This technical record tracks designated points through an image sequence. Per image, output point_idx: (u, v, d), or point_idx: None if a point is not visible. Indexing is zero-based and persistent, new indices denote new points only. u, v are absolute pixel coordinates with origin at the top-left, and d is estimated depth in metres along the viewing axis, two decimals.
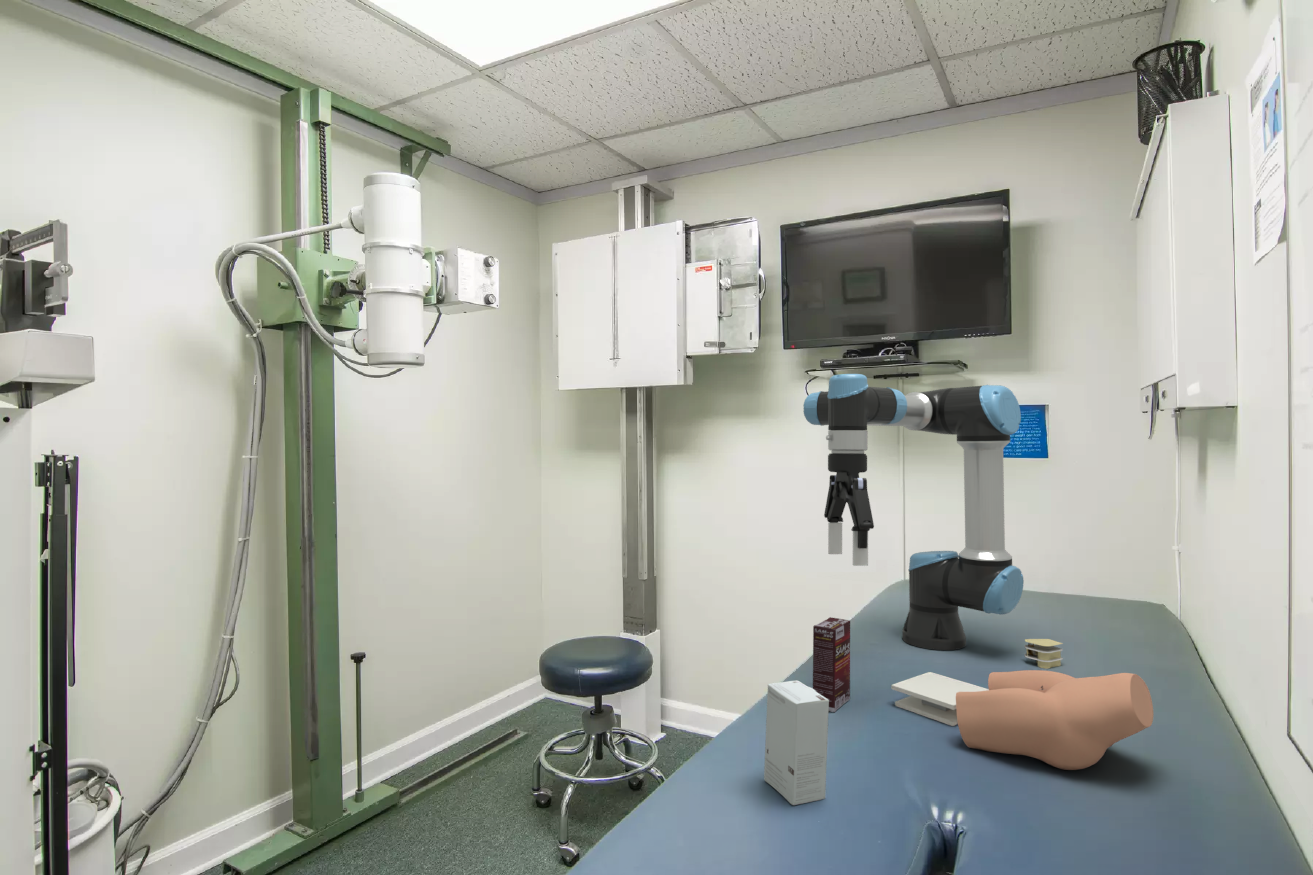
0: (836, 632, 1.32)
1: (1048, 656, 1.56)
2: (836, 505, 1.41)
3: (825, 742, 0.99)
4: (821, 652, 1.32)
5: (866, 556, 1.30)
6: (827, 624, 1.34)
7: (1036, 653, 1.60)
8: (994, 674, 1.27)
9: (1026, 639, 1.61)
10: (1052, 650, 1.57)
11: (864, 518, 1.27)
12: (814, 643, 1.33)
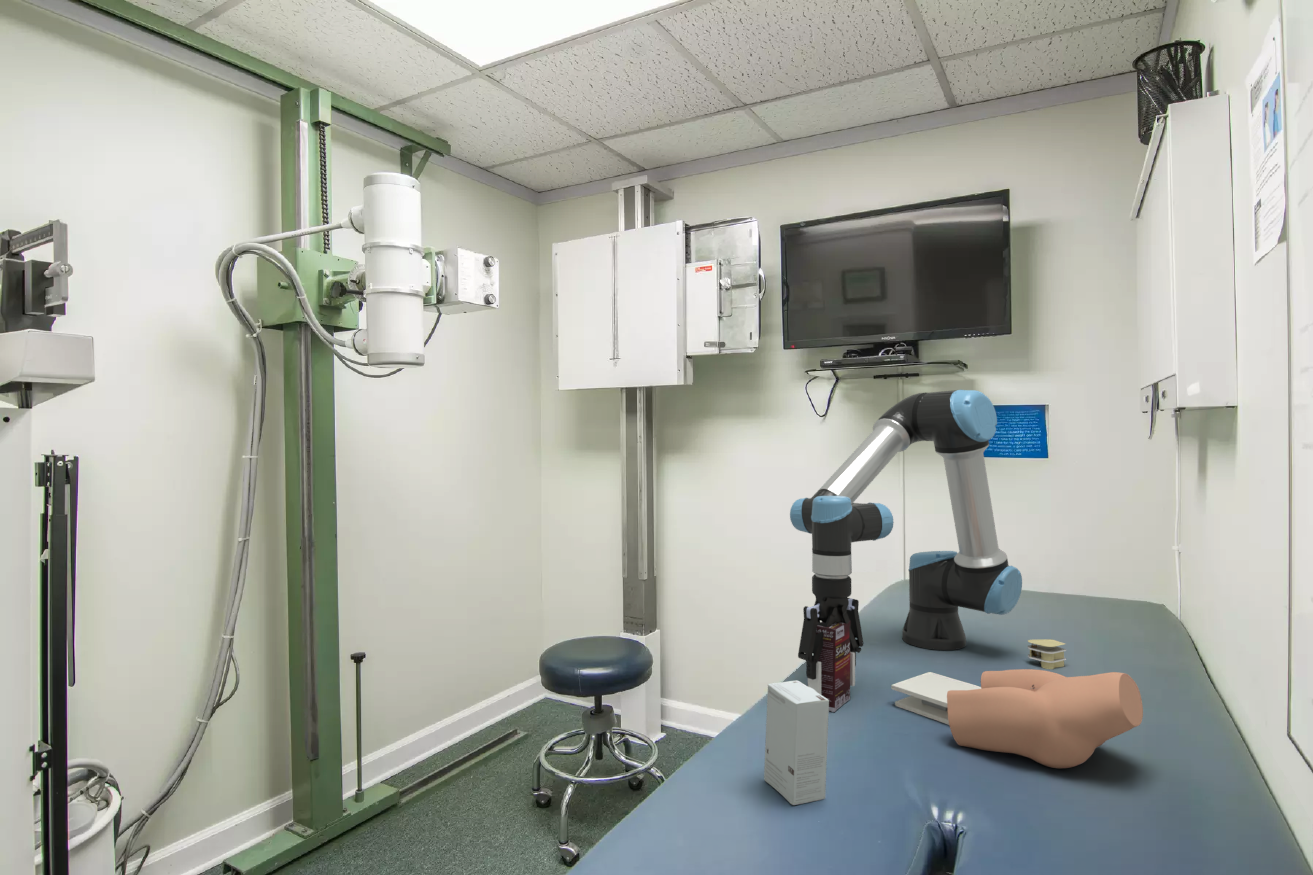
0: (837, 632, 1.32)
1: (1051, 657, 1.56)
2: None
3: (825, 742, 0.99)
4: (821, 651, 1.32)
5: (817, 687, 1.31)
6: None
7: (1039, 654, 1.60)
8: (986, 673, 1.28)
9: (1029, 640, 1.61)
10: (1055, 650, 1.57)
11: (802, 650, 1.31)
12: None
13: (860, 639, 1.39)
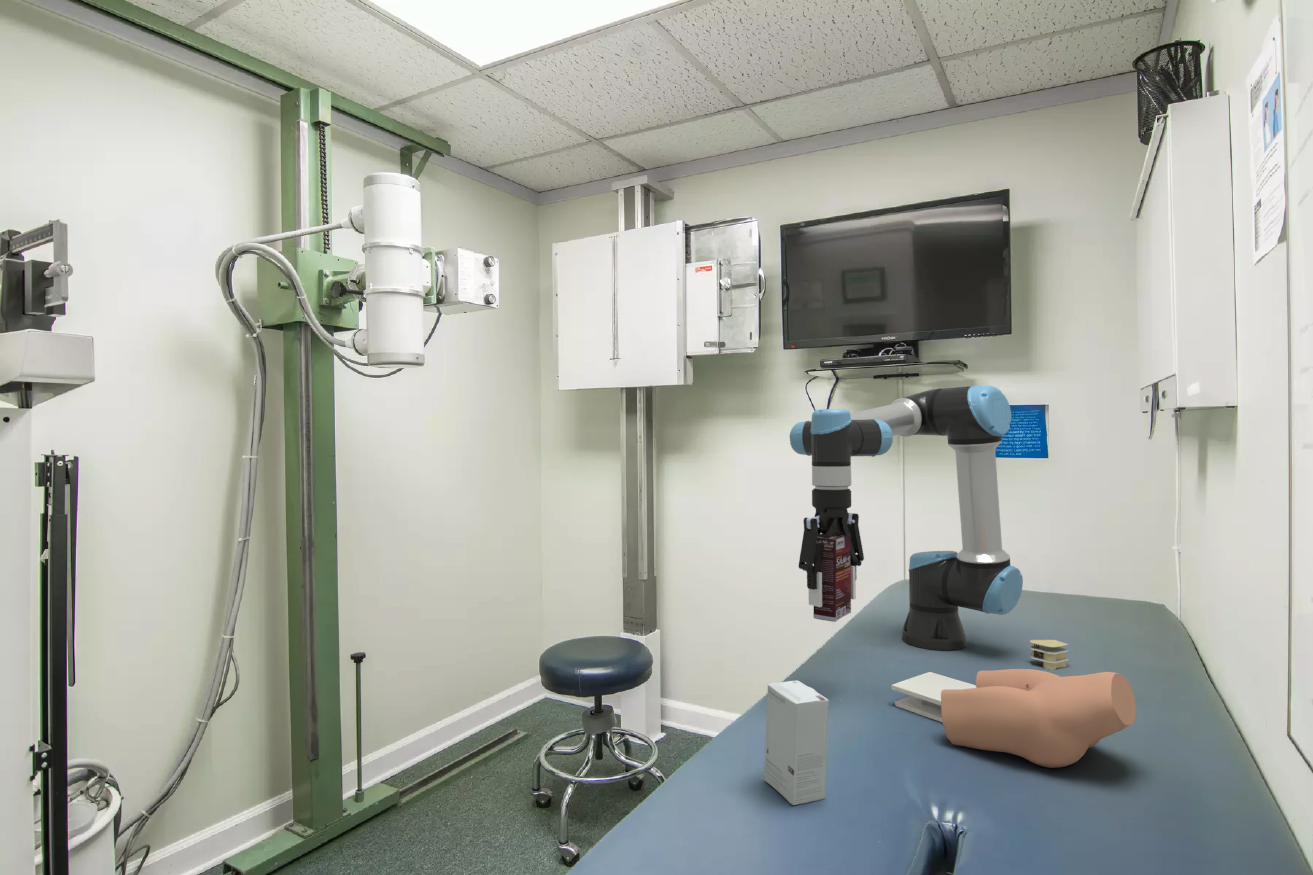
0: (837, 543, 1.32)
1: (1054, 657, 1.56)
2: None
3: (825, 742, 0.99)
4: (822, 562, 1.33)
5: (818, 597, 1.32)
6: None
7: (1041, 654, 1.60)
8: (982, 673, 1.28)
9: (1031, 640, 1.60)
10: (1058, 651, 1.56)
11: (803, 560, 1.31)
12: None
13: (861, 553, 1.39)
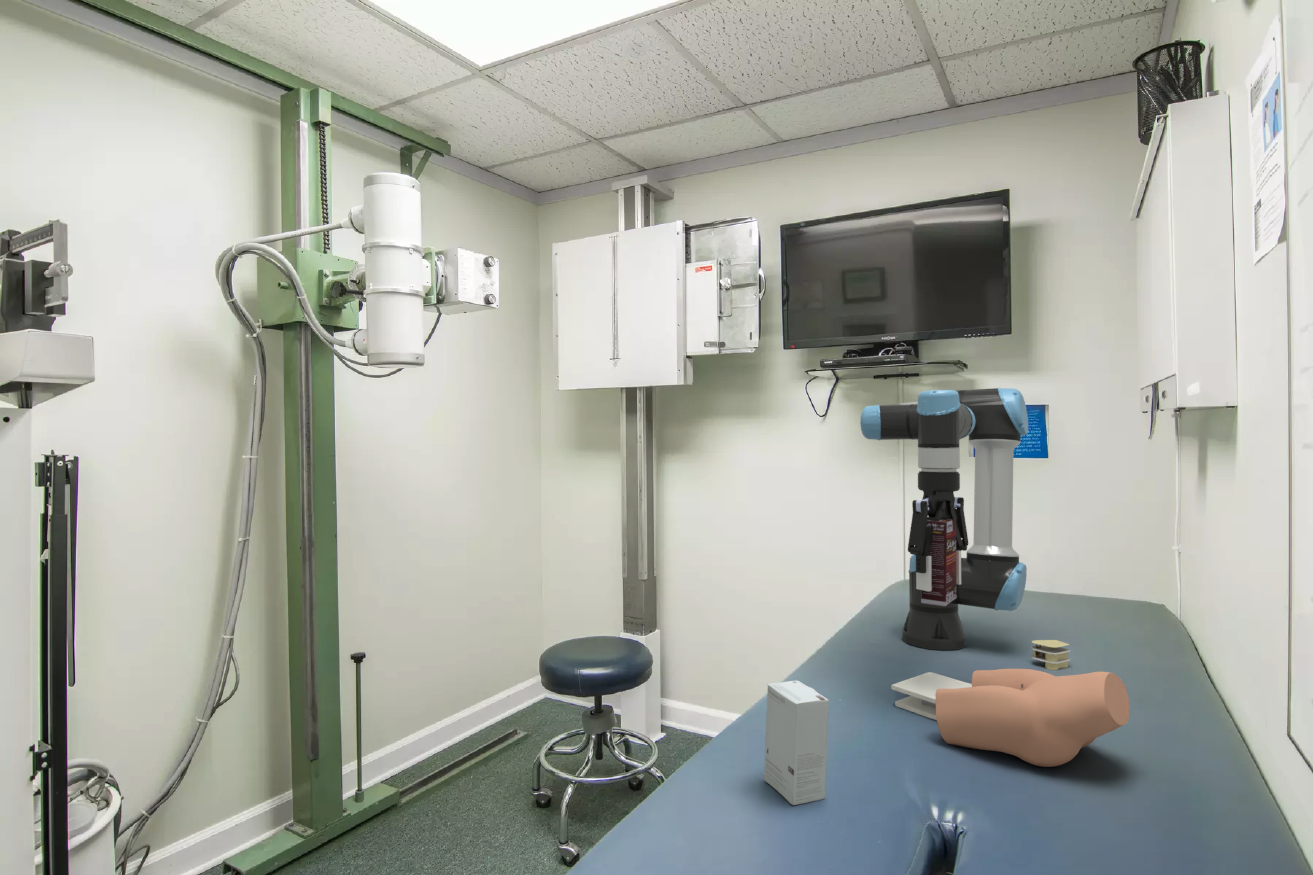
0: (947, 526, 1.29)
1: (1056, 657, 1.55)
2: None
3: (825, 742, 0.99)
4: (931, 546, 1.30)
5: (927, 581, 1.29)
6: None
7: (1043, 654, 1.59)
8: (978, 673, 1.28)
9: None
10: (1060, 651, 1.56)
11: (913, 543, 1.29)
12: None
13: (966, 538, 1.37)
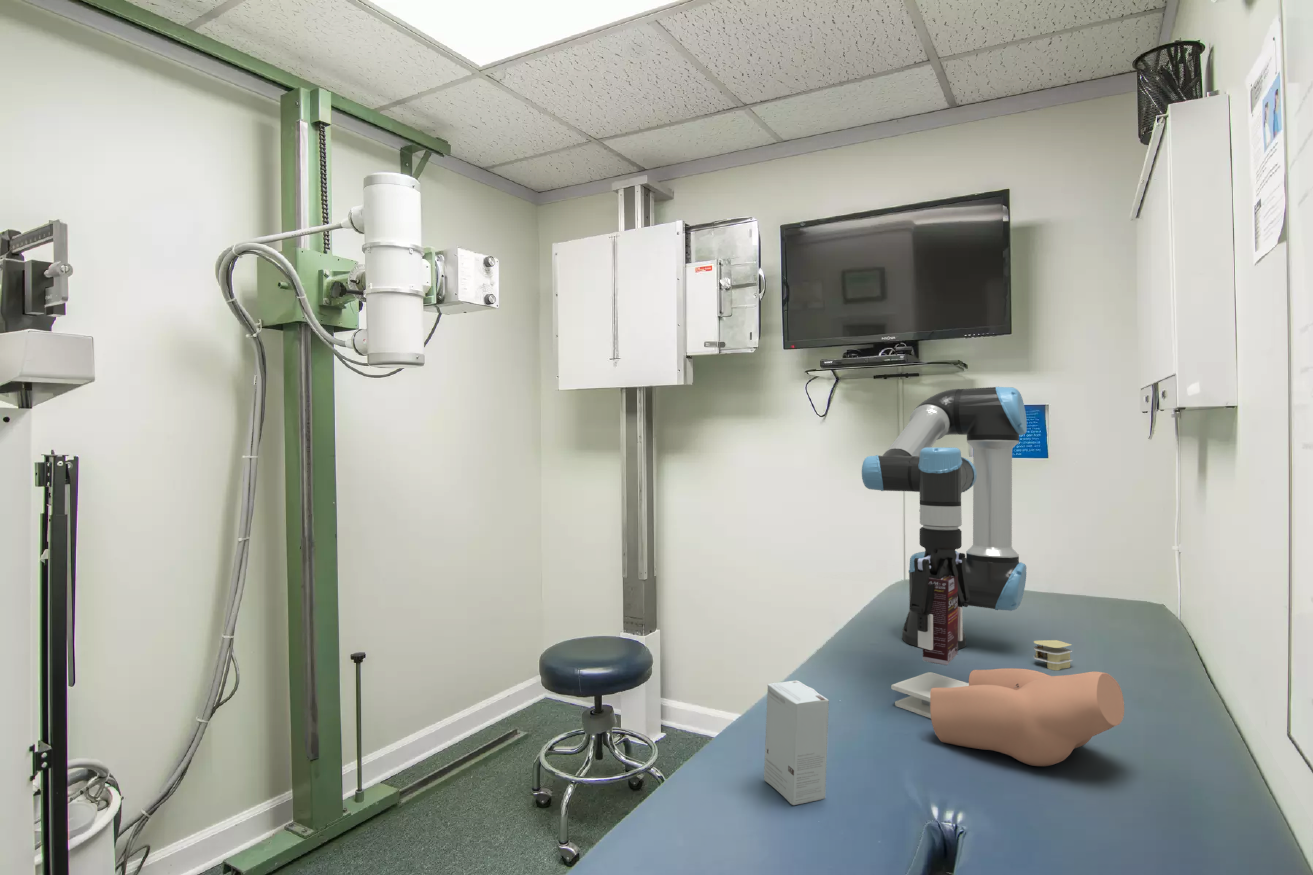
0: (949, 584, 1.29)
1: (1058, 658, 1.55)
2: None
3: (825, 742, 0.99)
4: (933, 604, 1.30)
5: (929, 640, 1.29)
6: None
7: (1045, 655, 1.59)
8: (975, 672, 1.29)
9: (1035, 641, 1.60)
10: (1062, 652, 1.56)
11: (914, 601, 1.29)
12: None
13: (967, 594, 1.37)
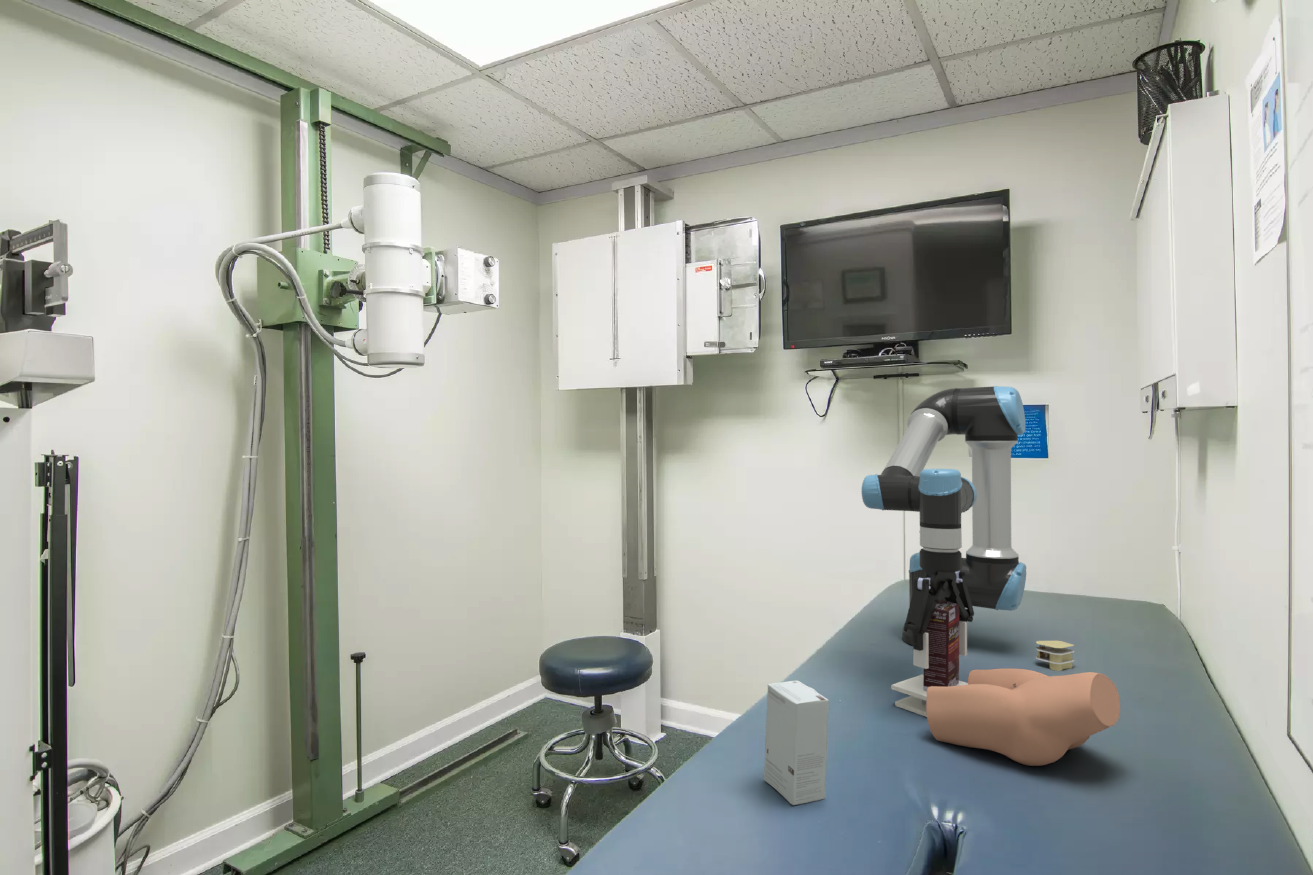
0: (949, 614, 1.29)
1: (1060, 658, 1.55)
2: None
3: (825, 742, 0.99)
4: (933, 634, 1.30)
5: (924, 659, 1.28)
6: (938, 606, 1.32)
7: (1047, 655, 1.59)
8: (974, 672, 1.29)
9: (1037, 641, 1.60)
10: (1064, 652, 1.56)
11: (910, 620, 1.28)
12: None
13: (971, 609, 1.37)
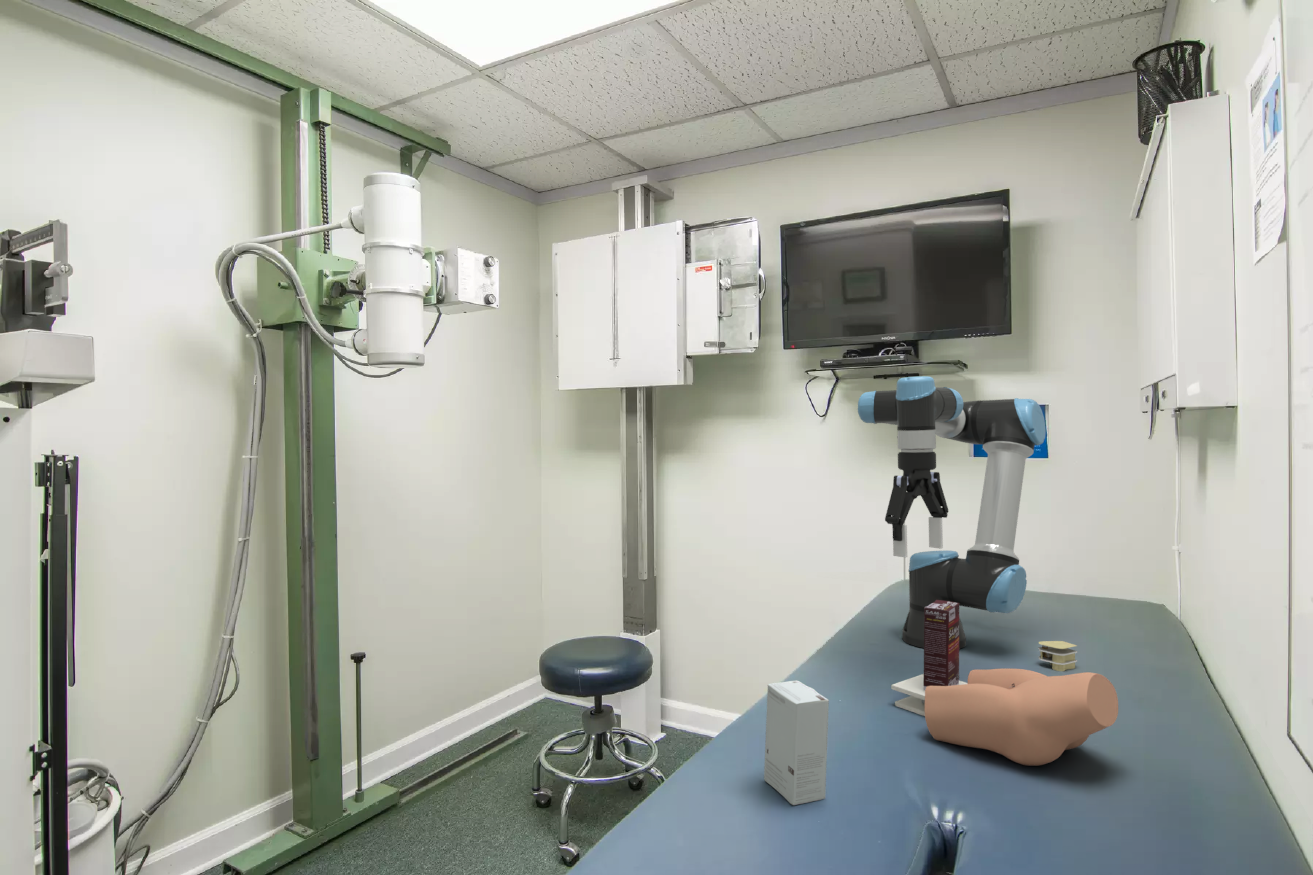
0: (949, 614, 1.29)
1: (1063, 659, 1.55)
2: (925, 500, 1.48)
3: (825, 742, 0.99)
4: (933, 634, 1.30)
5: (903, 548, 1.39)
6: (938, 606, 1.32)
7: (1050, 655, 1.58)
8: (974, 672, 1.29)
9: None
10: (1067, 652, 1.55)
11: (890, 513, 1.39)
12: (925, 625, 1.31)
13: (945, 507, 1.49)
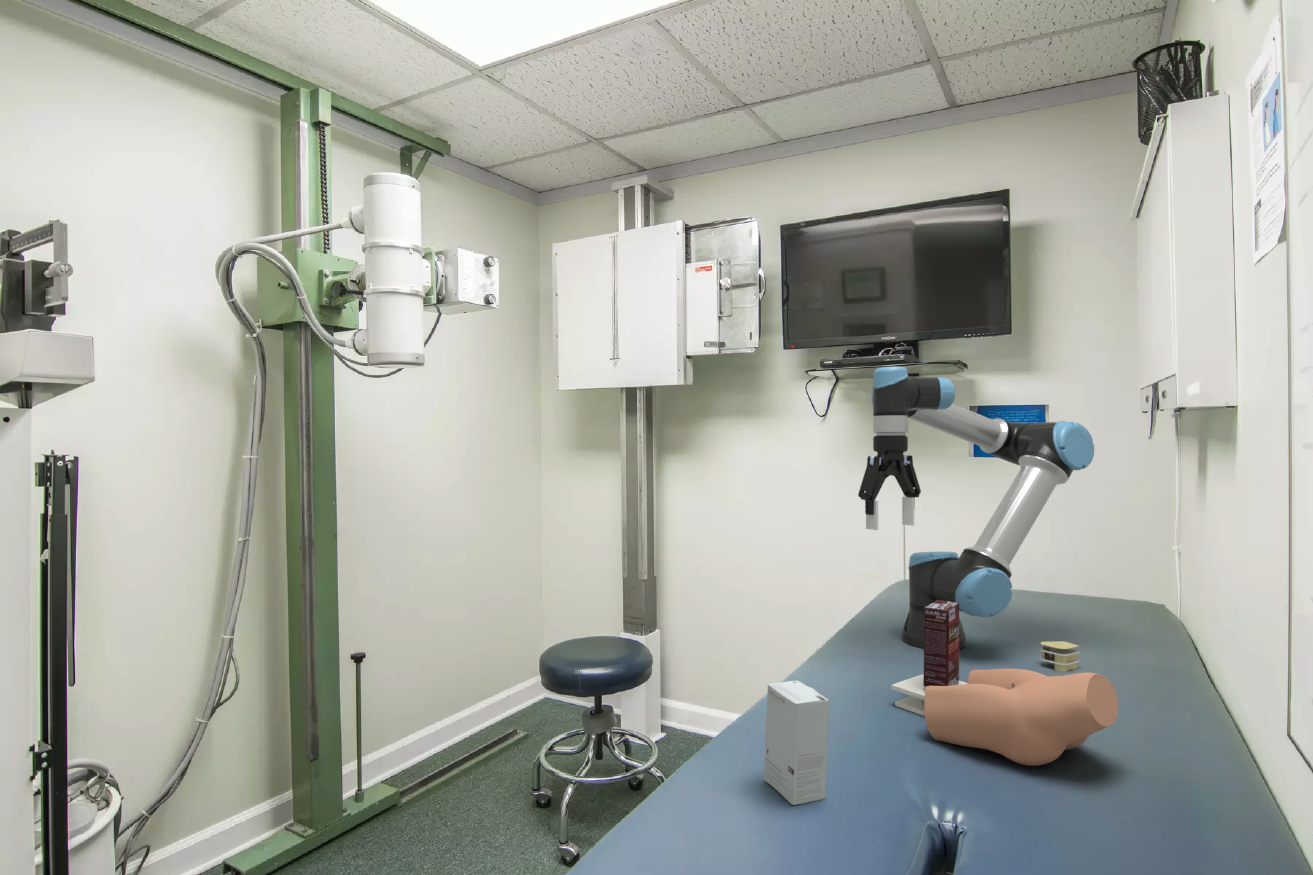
0: (949, 614, 1.29)
1: (1065, 659, 1.54)
2: (898, 481, 1.62)
3: (825, 742, 0.99)
4: (933, 634, 1.30)
5: (874, 522, 1.53)
6: (938, 606, 1.32)
7: (1052, 656, 1.58)
8: (974, 672, 1.29)
9: (1042, 642, 1.59)
10: (1069, 653, 1.55)
11: (863, 489, 1.53)
12: (925, 625, 1.31)
13: (918, 488, 1.63)
